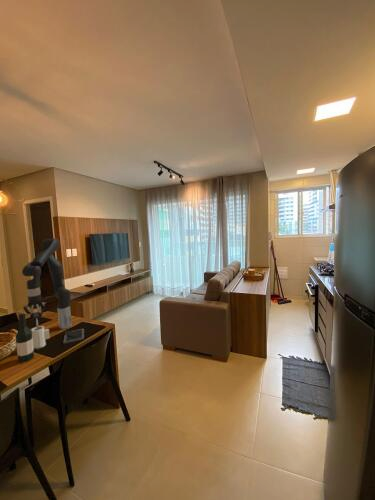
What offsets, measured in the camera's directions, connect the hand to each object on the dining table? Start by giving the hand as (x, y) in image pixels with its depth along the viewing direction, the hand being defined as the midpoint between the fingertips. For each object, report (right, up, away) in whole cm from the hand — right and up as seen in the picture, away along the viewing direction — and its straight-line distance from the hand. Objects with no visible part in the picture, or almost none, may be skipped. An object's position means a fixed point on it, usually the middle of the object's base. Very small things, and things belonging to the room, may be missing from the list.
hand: (36, 318), depth 148 cm
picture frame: (+19, -19, +15) cm, 31 cm away
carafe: (+2, -20, +2) cm, 20 cm away
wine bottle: (+3, -22, -13) cm, 26 cm away
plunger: (0, -9, +1) cm, 9 cm away
